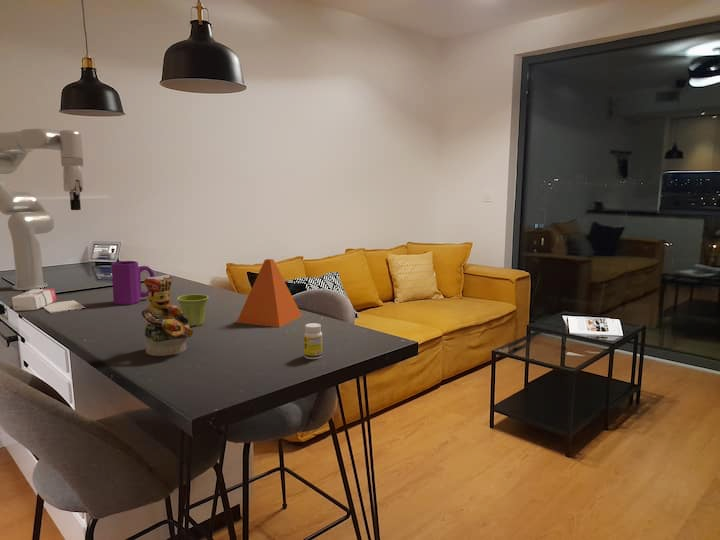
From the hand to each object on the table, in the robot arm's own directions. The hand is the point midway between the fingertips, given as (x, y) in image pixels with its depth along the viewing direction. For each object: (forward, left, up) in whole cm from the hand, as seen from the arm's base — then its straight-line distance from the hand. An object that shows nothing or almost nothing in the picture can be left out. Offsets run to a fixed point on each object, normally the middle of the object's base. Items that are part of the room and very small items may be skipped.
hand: (75, 209), depth 209 cm
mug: (+32, +10, -33) cm, 47 cm away
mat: (+25, -13, -33) cm, 43 cm away
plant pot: (+77, +12, -33) cm, 85 cm away
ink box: (+14, -16, -30) cm, 37 cm away
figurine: (+98, -5, -33) cm, 104 cm away
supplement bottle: (+127, +21, -33) cm, 133 cm away
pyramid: (+87, +34, -34) cm, 99 cm away
